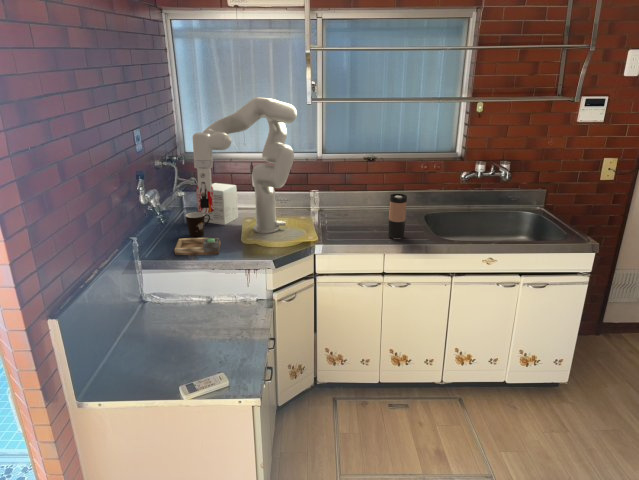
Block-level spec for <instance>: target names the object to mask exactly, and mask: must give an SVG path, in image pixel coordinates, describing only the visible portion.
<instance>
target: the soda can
mask: <svg viewBox="0 0 639 480" xmlns="http://www.w3.org/2000/svg"><path fill="white" fill-rule="evenodd" d="M200 190H201V189H200ZM205 191H207V190H205ZM200 198H201V191H200V192H199V187H198V186H197V187H196V204H197V212H200V213H202V214H210V213H212V212H213V211H214V191H213V187H212V185H211V192H209V191H208V200H209V208H201V200H200Z"/></svg>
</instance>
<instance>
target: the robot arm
mask: <svg viewBox="0 0 639 480" xmlns="http://www.w3.org/2000/svg"><path fill="white" fill-rule="evenodd" d="M297 116H298V112H297V109H296V107H295V106H294V105H292V104H291V103H287V102H284V101H280V100H277V99H274V98H271V97H270V98H269V97H259V96H258V97H254V98H252V99H251V100H249V101H248V102H246V104H244V105H243V106H242V107H241V108H240V109H238V110H237V111H236V112H234V113H232V114H229V115H227V116H225V117H222V118H220V119H218V120H217V121H214V122H213V123H212V124H210V125H209V126H207V128H205V129H204V130H203V132H196V133H193V134H192V151H193V152H192V153H193V167H194V168H195V169H197V173H196V174H197V187H199V192H200V191H201V198H200V200H201V208H209V200H208V191H209V192H211V185H212V184H213V181H212V168H213V167H214V163H213V162H214V161H213V151H226V150H228V149H229V148H230V147H231V146H232V145H231V144H232V138H231V136H230V135H231V134H235V133H241V132H244V131H247V130H248V129H249V128H251V127H252V126H253V125H254V124H255V123H256V122H258V121H259V120H261V119H263V118H265V119H266V121H267V123H268V128H269V131H268V135H267V138H266V141H265V144H264V146H263V149H262V153H261V156H262V159H263V160H264V162H267V163H269V164H264V163H263V164H262V163H259V164H258V165H256V166H254V168H253V169H252V172H251V178H252V181H253V182H252V183H253V187H254V199H255V201H254V202H255V203H254V204H255V221H256V222H255V225H254V226H253V227H252V229H253V231H254V232H255V233H259V234H260V233H261V234H272V233H275V232H278V231H279V230H280V226H281V227H286V226H287V225H286V223H287V222H286V221H283V220H278V219H277V213H276V212H277V209H276V207H277V203H276V191H275V189H281V188H282V187H284V186H285V184H286V183H287V180H288V178H289V175H290V172H291V169H292V166H293V163H294V158H295V152H294V149H293V148H292V147H291V145H289V144H286V141H287V137H288V130H287V127H286V124H292V123H293V122H295V121H296V120H297ZM270 164H273V165H270ZM200 189H201V190H200ZM205 190H207V191H205Z"/></svg>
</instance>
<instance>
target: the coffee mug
mask: <svg viewBox="0 0 639 480" xmlns="http://www.w3.org/2000/svg"><path fill="white" fill-rule="evenodd" d="M205 216H208V217H209V219H208V221H207V222H204V221H205ZM185 219H186V225H187V228H188V233H189V238H203V237H204V235H205V227H206V226H207V224H208V222H209V220H210V216H209V215H208V214H206V215H205V214H202V213H200V212H198V211H193V212H189V213H186V214H185Z"/></svg>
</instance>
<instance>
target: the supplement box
mask: <svg viewBox="0 0 639 480" xmlns="http://www.w3.org/2000/svg"><path fill="white" fill-rule="evenodd" d="M212 187H213V191H214V211H213V212H212V213H210V214H208V215H209V216H210V220H209V222H208V223H210V224H215V225H216V224H217V225H223V226H225V225H228V224H229V223H231V222H233V221H235V220H237V219H238V218H239V208H238V205H239V204H238V194H237V193H238V189H237V185H236V184H230V183H219V182H214V183H212ZM205 215H206V214H205ZM208 219H209V217H208V216H205V221H204V223H207V221H208ZM208 223H207V224H208Z"/></svg>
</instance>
